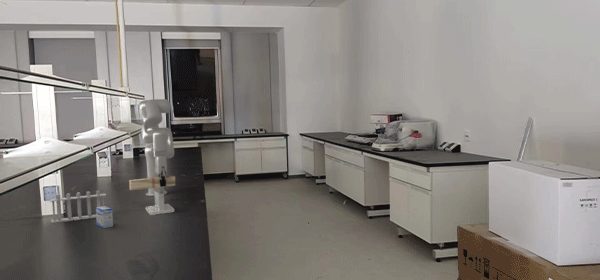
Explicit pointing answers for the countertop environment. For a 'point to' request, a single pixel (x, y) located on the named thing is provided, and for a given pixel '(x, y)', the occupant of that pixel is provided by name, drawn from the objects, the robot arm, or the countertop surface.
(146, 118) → the robot arm
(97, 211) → the medicine box
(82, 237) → the countertop surface
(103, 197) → the grey picket fence
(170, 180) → the pine beam
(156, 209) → the ridge stand
